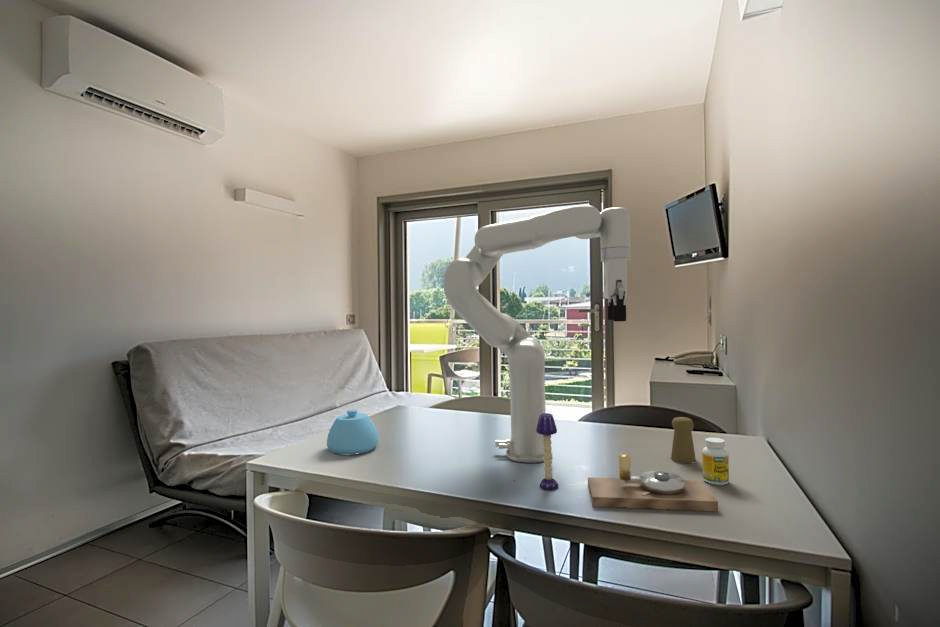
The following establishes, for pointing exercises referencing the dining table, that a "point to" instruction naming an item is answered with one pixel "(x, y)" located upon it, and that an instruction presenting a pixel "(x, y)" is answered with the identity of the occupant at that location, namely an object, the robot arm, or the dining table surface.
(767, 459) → the dining table surface
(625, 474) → the crank handle
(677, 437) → the cork
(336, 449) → the sugar bowl
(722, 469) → the supplement bottle
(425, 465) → the dining table surface
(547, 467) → the toy lamp
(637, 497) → the stand plate
